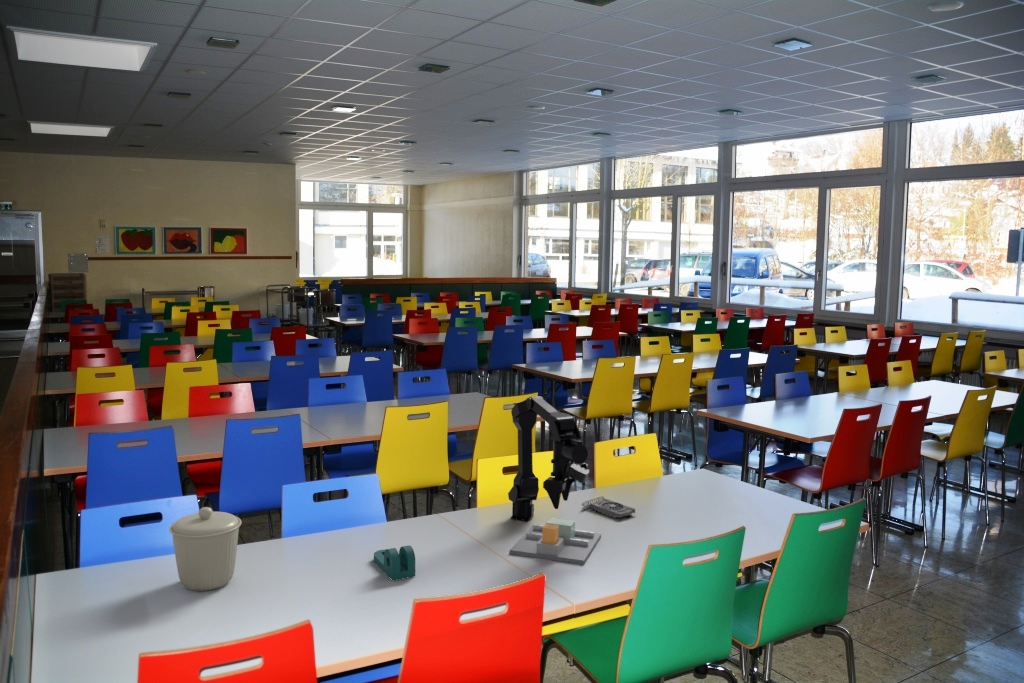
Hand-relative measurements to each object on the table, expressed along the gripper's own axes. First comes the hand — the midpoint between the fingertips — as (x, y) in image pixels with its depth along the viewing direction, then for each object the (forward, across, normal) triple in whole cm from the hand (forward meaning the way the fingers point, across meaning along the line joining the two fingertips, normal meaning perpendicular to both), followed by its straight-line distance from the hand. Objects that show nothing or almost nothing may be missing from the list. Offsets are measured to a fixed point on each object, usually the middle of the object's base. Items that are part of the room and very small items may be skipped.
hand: (560, 504), depth 250 cm
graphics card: (+13, +34, -7) cm, 37 cm away
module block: (+11, +1, 0) cm, 11 cm away
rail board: (+12, -2, 0) cm, 12 cm away
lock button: (+8, -11, 0) cm, 14 cm away
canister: (+12, -70, +78) cm, 105 cm away
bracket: (+12, -40, +38) cm, 56 cm away
